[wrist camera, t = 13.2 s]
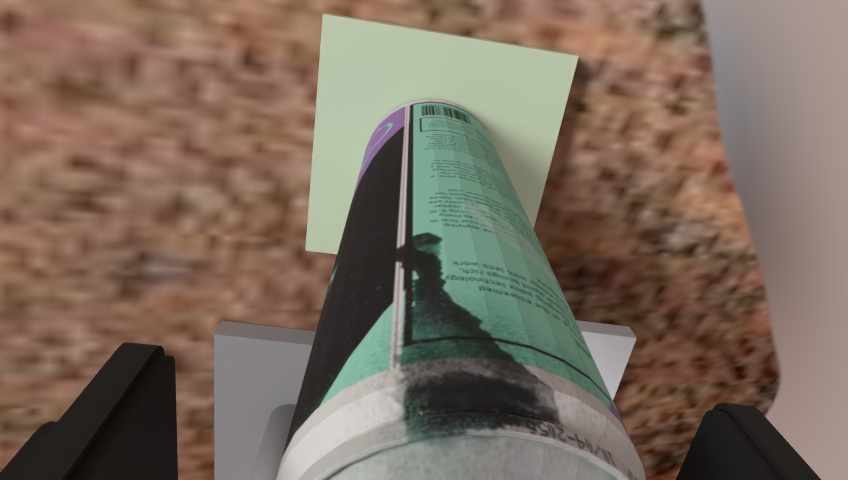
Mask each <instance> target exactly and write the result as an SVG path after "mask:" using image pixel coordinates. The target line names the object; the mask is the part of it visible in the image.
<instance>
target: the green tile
mask: <svg viewBox="0 0 848 480" xmlns="http://www.w3.org/2000/svg"><path fill="white" fill-rule="evenodd" d="M578 57H579V56H577V55H575V54H572V53H566V52H560V51H554V50H548V49H542V48H536V47H530V46H524V45H518V44H512V43H506V42H500V41H494V40H488V39H482V38H476V37H470V36H464V35H458V34H452V33H446V32H440V31H434V30H428V29H421V28H415V27H409V26H403V25H397V24H391V23H385V22H379V21H373V20H367V19H361V18H355V17H349V16H343V15H337V14H331V13H324V14H323V20H322V34H321V47H320V61H319V75H318V88H317V102H316V115H315V129H314V143H313V156H312V170H311V183H310V197H309V211H308V224H307V238H306V250H307V251H314V252H322V253H330V254H337V253H338V250H339V246H340V242H341V239H342V235H343V231H344V228H345V224H346V220H347V217H348V213H349V209H350V206H351V202H352V198H353V195H354V191H355V187H356V184H357V180H358V176H359V172H360V169H361V165H362V161H363V158H364V154H365V150H366V147H367V144H368V141H369V139H370V137H371V135H372V133H373V131H374V129H375V128H376V126H377V125H378V124H379V122H380V121H381V120H382V119H383V118H384V117H385V116H386V115H387V114H388V113H389V112H391V111H392V110H394V109H395V108H397V107H399V106H401V105H402V104H405V103H408V102H411V101H414V100H419V99H426V98H432V99H443V100H446V101H450V102H454V103H456V104H458V105H460V106H462V107H464V108H466V109H467V110H468V111H470V112H471V113H472V114H473V115H475V116H476V117H477V118H478V120H479V121H480V122H481V123H482V124H483V126H484V127H485V128H486V130H487V132H488V134H489V135H490V137H491V139H492V141H493V143H494V146H495V148H496V150H497V152H498V154H499V156H500V159H501V161H502V163H503V165H504V167H505V169H506V171H507V174H508V176H509V178H510V180H511V182H512V184H513V187H514V189H515V191H516V193H517V195H518V197H519V199H520V202H521V204H522V206H523V208H524V210H525V212H526V215H527V217H528V219H529V221H530V223H531V225H532V228H533V229H534V226H535V222H536V218H537V214H538V210H539V207H540V203H541V199H542V195H543V191H544V187H545V184H546V180H547V176H548V172H549V168H550V164H551V161H552V157H553V153H554V149H555V145H556V141H557V138H558V134H559V130H560V126H561V122H562V118H563V115H564V111H565V107H566V103H567V99H568V95H569V92H570V88H571V84H572V80H573V76H574V72H575V69H576V65H577V61H578Z"/></svg>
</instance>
